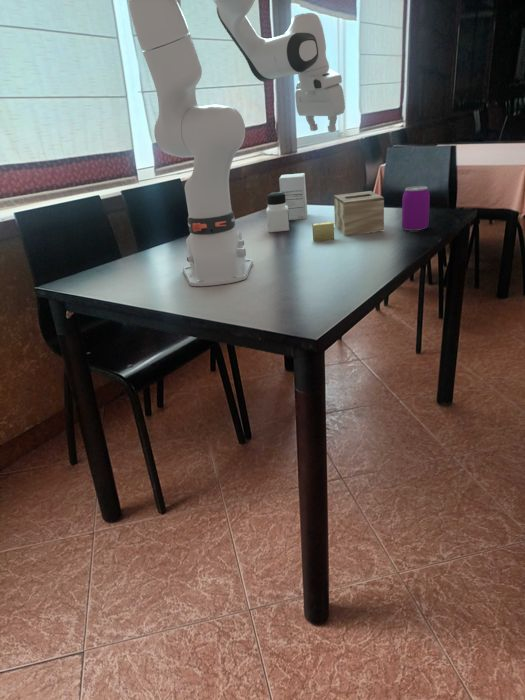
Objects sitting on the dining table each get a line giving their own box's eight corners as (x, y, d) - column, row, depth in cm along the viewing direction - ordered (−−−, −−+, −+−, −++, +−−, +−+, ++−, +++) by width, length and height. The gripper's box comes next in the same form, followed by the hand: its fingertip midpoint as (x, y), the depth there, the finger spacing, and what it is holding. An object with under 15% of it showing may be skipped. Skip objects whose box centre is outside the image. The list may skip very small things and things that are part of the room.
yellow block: (334, 240, 147) (333, 223, 145) (314, 242, 147) (313, 225, 145) (332, 238, 149) (332, 221, 147) (313, 240, 149) (312, 224, 147)
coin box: (383, 231, 150) (383, 197, 146) (345, 235, 150) (344, 202, 146) (370, 222, 163) (370, 190, 159) (335, 226, 163) (333, 195, 158)
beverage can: (426, 225, 152) (428, 184, 146) (429, 231, 145) (431, 188, 140) (400, 226, 153) (401, 186, 148) (402, 232, 146) (403, 191, 141)
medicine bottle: (289, 230, 164) (286, 193, 159) (268, 232, 164) (264, 195, 159) (289, 226, 170) (286, 190, 165) (268, 228, 171) (265, 192, 166)
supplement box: (284, 215, 188) (280, 174, 181) (307, 214, 186) (305, 172, 180) (281, 220, 180) (278, 178, 173) (306, 219, 178) (303, 175, 172)
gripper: (287, 84, 148) (296, 133, 155) (326, 81, 132) (334, 135, 139) (304, 78, 150) (312, 126, 157) (345, 75, 133) (352, 128, 141)
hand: (323, 131), depth 148 cm, fingers open, 8 cm apart
